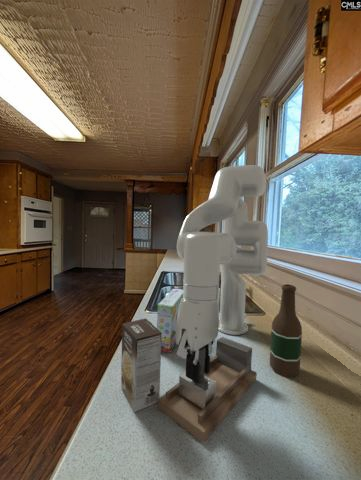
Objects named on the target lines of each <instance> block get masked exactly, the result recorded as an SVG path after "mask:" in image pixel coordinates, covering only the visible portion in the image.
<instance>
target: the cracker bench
mask: <svg viewBox="0 0 361 480" xmlns="http://www.w3.org/2000/svg"><path fill="white" fill-rule="evenodd" d="M252 356H253V347H251V346H248V345H245V344H243V343H240V342H238V341H234V340H232V339H230V338H227V337H224V336H221V337H220V338H218V339H217V340H216V352H215V355H214V356H212V357H210V372H209V373H208V374H206V373H205V376H207V377H209V378H211V379H213V380H214V381H216V397H215V398H214V399H213V400H212V401H211V402H210V403H209V404H208V405H207V406H206V407H205V408H204V409H202V408H201V407H199V406H198V405H196V404H195V403H193V402H192V401H190V400H188V399H187V398H185V397H184V396H182V395H181V394H179V382H178V383H177V384H175V385H174V386H173V387H171V388H169V389H168V390H167V391H165V393H164V394H162V395H160V396H159V399H158V402H157V409H158V410H159V411H161V412H162V413H163V414H165V416H168V417H169V418H170V419H171V420H172V421H174V422H175V423H176V424H177V425H179V426H180V427H182V428H183V429H184V430H186V431H187V432H188V433H189V434H191V435H192V436H194V437H195V438H196V439H197V440H199V441H200V442H202V443H205V442H206V440H207V439H208V438H209V437H210V436H211V435H212V433H213V432H214V431H215V429H217V427H218V426H219V425H220V424H221V423H222V421H223V420H224V419H225V418H226V417H227V416H228V414H229V413H230V412H231V411H232V409H234V407H235V406H236V405H237V403H238V402H239V401H240V400H241V399H242V398H243V396H244V395H245V394H246V393H247V391H249V389H250V388H251V387H252V386H253V384H254V383H255V382H256V381H257V371H254V370H252V360H253V359H252V358H253V357H252Z"/></svg>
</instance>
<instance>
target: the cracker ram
mask: <svg viewBox="0 0 361 480" xmlns="http://www.w3.org/2000/svg"><path fill="white" fill-rule="evenodd" d="M193 353H194V352H191V354H192V355H193ZM205 353H206V347H205V346H203V347H202V348H200V349H199V356H198V363H200V374H199V381H198V382H195V381H193V380H191V379H189V378H188V377H186V370H185V371H184V372H183V373H182V374H180V375H179V379H178V381H179V382H178V383H179V394H181V395H182V396H184V397H185V398H187V399H188V400H190V401H192V402H193V403H195V404H196V405H198V406H199V407H201V408H202V409H204V408H205V407H206V406H207V405H208V404H209V403H210V402H211V401H212V400H213V399H214V398H215V397H216V381H214V380H213V379H211V378H209V377H207V376H205Z"/></svg>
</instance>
